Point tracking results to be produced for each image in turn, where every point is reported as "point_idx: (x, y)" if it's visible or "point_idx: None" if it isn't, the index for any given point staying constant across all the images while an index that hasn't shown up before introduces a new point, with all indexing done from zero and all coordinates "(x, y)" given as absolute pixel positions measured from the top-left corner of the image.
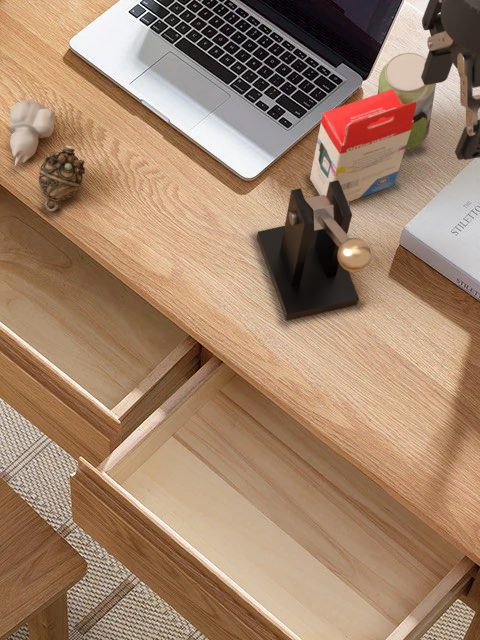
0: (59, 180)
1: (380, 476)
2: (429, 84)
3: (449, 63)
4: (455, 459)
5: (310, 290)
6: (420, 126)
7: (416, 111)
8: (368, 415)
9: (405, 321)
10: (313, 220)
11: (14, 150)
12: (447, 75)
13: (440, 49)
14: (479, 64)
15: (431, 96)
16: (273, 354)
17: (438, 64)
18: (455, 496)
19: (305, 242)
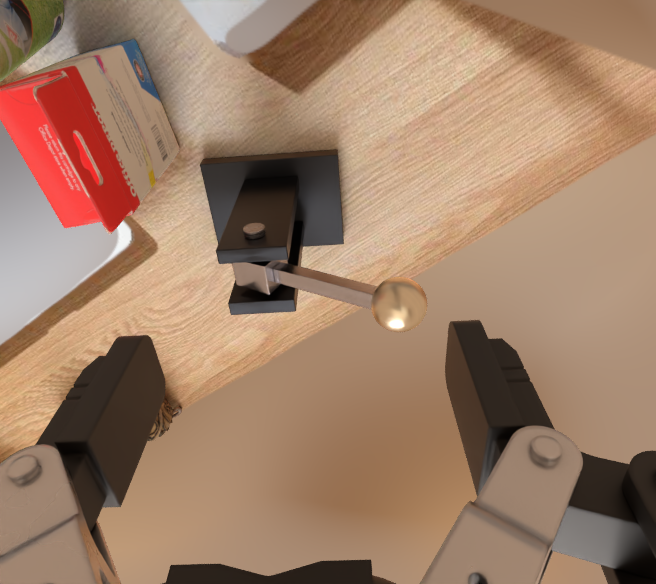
0: (160, 431)
1: (575, 181)
2: (162, 372)
3: (117, 403)
4: (598, 80)
5: (314, 211)
6: None
7: (12, 19)
8: (494, 175)
9: (376, 89)
10: (279, 285)
11: None
12: (137, 347)
13: (93, 514)
14: None
15: None
16: (383, 258)
17: (128, 439)
18: (645, 96)
19: None
